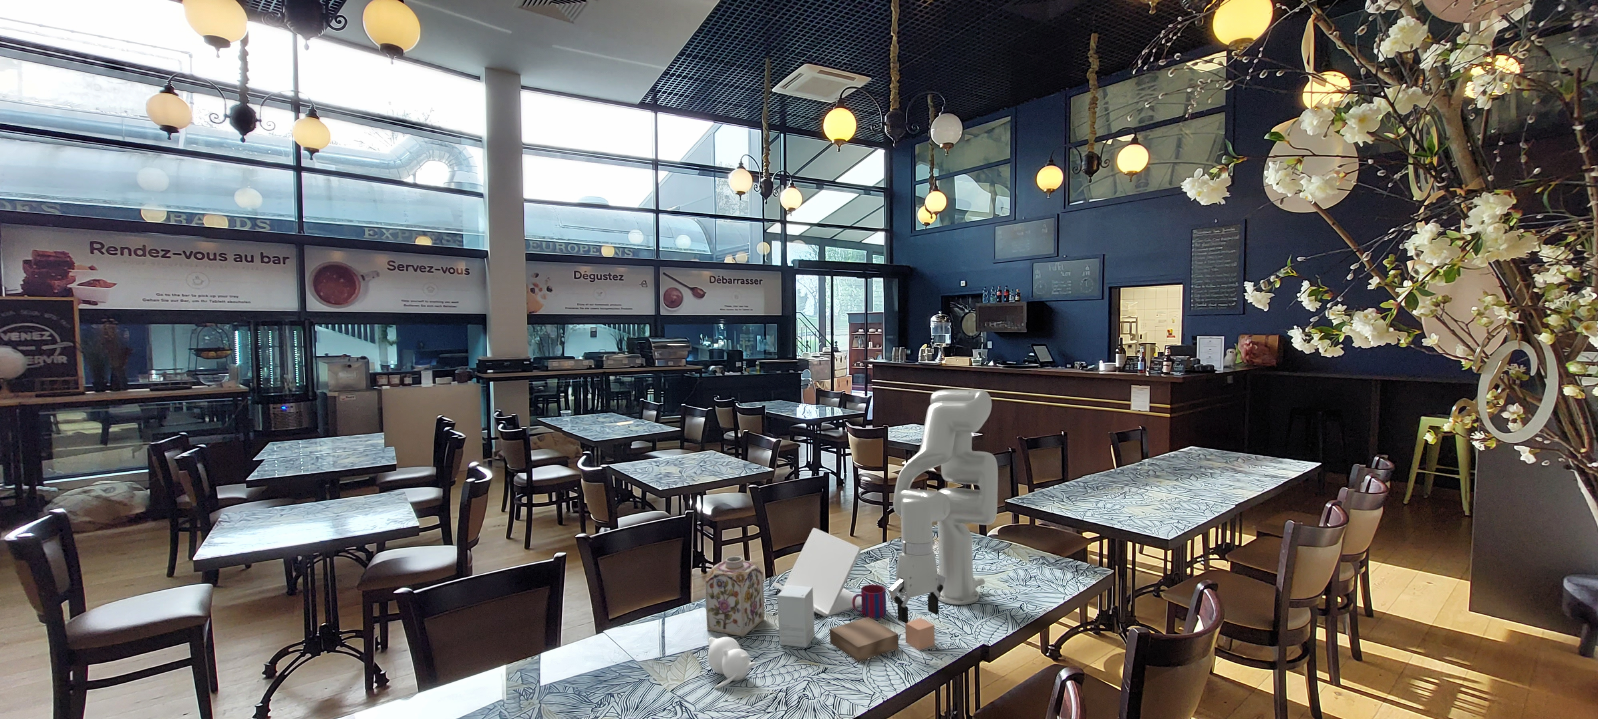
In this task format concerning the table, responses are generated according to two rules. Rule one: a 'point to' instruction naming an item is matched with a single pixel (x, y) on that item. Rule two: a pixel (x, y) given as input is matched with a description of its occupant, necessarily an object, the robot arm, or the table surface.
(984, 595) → the table surface
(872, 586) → the mug
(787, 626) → the supplement box
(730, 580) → the decorative jar
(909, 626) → the terracotta cube
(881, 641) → the walnut block
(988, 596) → the table surface
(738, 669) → the cat figurine
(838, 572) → the tablet stand
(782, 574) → the table surface
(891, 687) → the table surface
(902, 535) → the robot arm
